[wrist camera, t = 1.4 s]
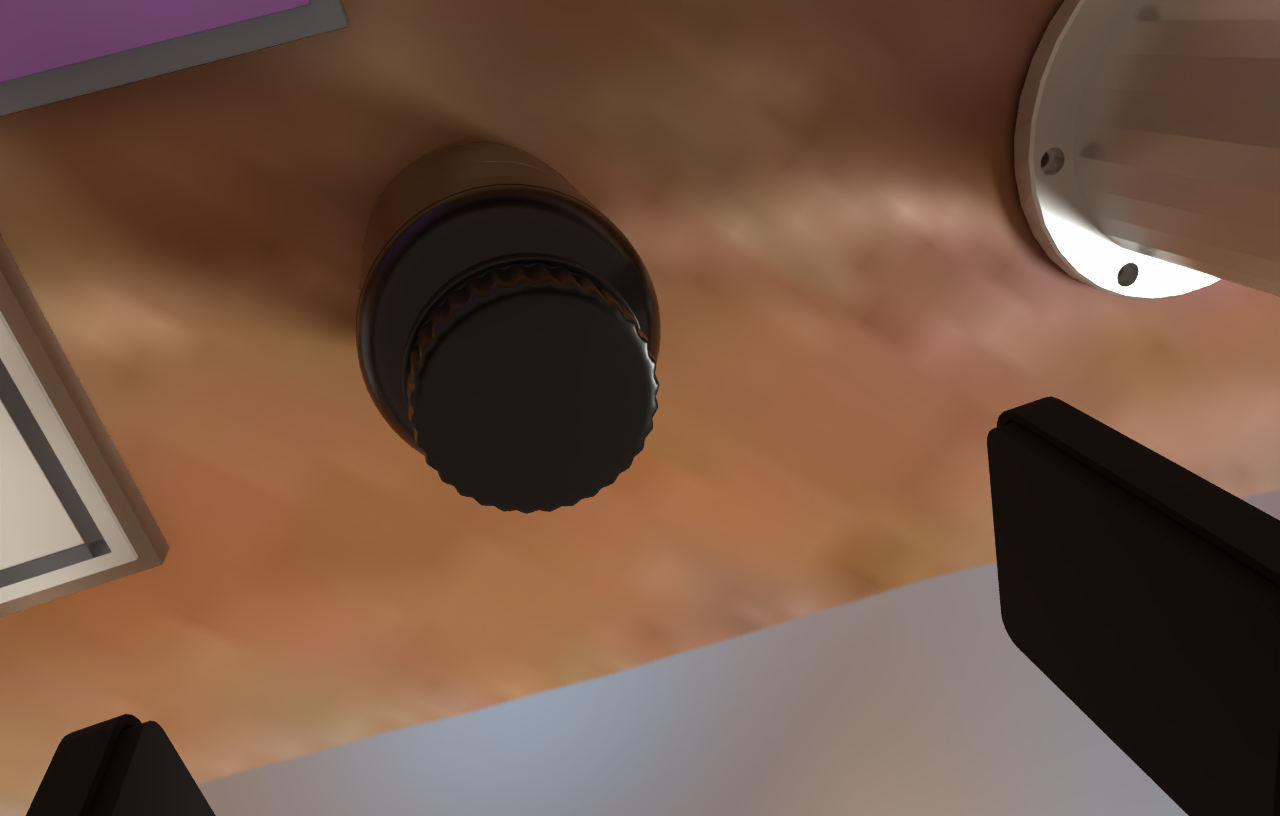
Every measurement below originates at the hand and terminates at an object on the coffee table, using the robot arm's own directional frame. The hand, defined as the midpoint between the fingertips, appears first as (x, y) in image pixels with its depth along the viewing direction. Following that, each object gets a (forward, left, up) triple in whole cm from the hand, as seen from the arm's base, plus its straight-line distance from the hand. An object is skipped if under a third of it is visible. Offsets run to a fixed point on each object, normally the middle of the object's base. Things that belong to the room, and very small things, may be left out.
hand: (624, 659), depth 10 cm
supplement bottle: (0, 0, -20) cm, 20 cm away
